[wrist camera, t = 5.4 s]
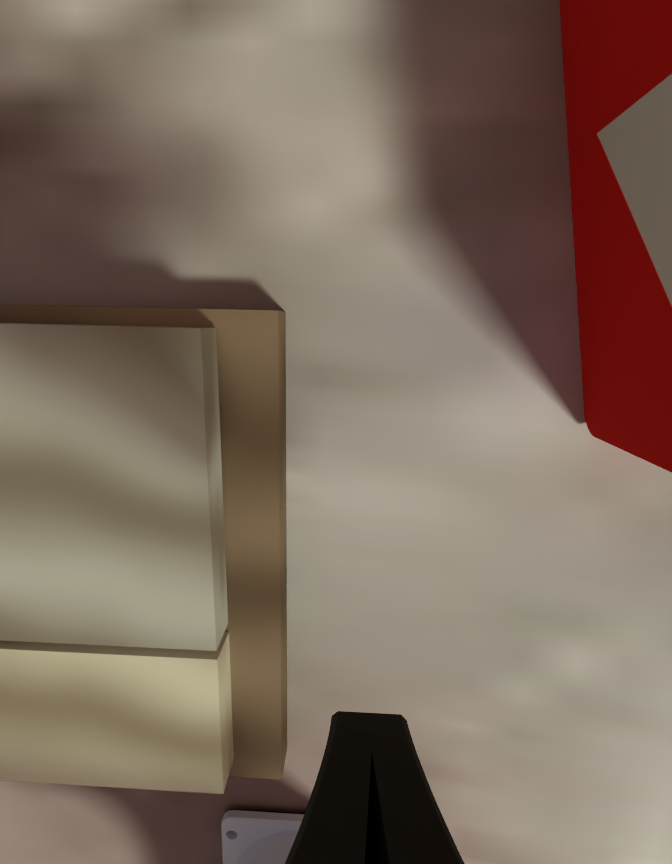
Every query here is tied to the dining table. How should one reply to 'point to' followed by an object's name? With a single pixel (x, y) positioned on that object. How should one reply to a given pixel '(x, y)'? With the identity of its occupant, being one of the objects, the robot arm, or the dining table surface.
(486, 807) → the dining table surface
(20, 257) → the dining table surface
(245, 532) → the floor board
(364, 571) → the dining table surface
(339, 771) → the robot arm
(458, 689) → the dining table surface
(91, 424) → the angled plank
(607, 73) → the play button
